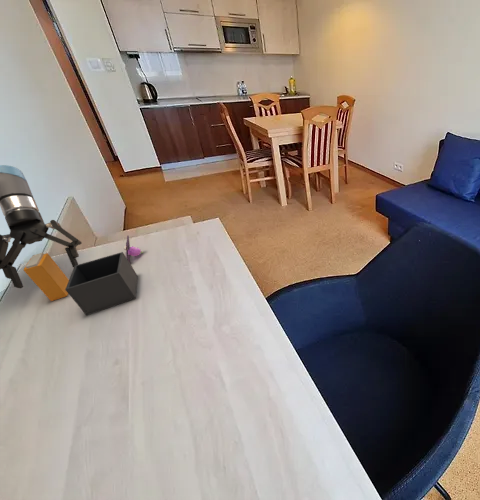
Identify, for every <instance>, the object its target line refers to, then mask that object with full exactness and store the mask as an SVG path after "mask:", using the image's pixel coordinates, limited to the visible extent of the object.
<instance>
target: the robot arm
mask: <svg viewBox="0 0 480 500" xmlns="http://www.w3.org/2000/svg"><path fill="white" fill-rule="evenodd" d="M0 210H1V212H2V215H3V217H4V218H5V221H6V224H7V226H8V229H9V233H8V234H3V235H2V234H0V270H2V271H3V274H4V277H5V278H6V279H8V280H11V282H12V285H13V288H17V289H23V288H24V285H23V282H22V280H21V278H20V277H21V276H20V275H19V273H18V270H17V268H16V267H15V266H13V265H14V264H15V262H16V260H17V259H18V257H19V256H20V253H21V252H22V250H23V249H24V248H25V247H26V246H27V245H32V244H34V243H36V242H42V241H43V240H44V239H47V240H48V241H51V242H54V243H57V244H59V245H62V246H64V247H65V248H64V250H65V252H66V255H67V257H68V260H69V262H70V264H71V266H72V268H73V269H74V266H76V265H79V263H78V260H77V258H79V257H80V256H79V255H80V254H79V252H78V250H77V246H79V245H80V246H81V245H82V243H83V242H82V241H81V240H80V239H78V238H77V237H75V236H74V235H72V234H71V233H70V232H68V231H67V230H65V228H62V226H61V224H60V223H59V222H58V221H57V220H55V219H51V220H50V221H49V222H48V223H45V221H44V219H43V216H42V214H41V212H40V210H39V207H38V205H37V202H36V200H35V198H34V195H33V193H32V190H31V188H30V185H29V183H28V181H27V179H26V177H25V175H24V173H23V171H22V170H21V169H20V168H18V167H17V166H16V167H15V166H14V165H13V166H12V165H7V164H6V165H5V164H0ZM49 229H52V230H56V231H58V233H60V234H61V235H63V236H65V237H66V238H67V239H69V240H70V241H67V240H65V239H62V238H59V237H57V236H54V235H52V234H50V233H48V231H49ZM12 239H13V241H12V242H11V240H12ZM9 243H11V246H10V247H9ZM8 249H9V250H8Z"/></svg>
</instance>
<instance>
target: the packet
mask: <svg viewBox="0 0 480 500" xmlns="http://www.w3.org/2000/svg"><path fill="white" fill-rule="evenodd" d="M23 272H24V273H25V274H26V275H27V276H28V277H29V278H30V280H31V281H33V283H34V284H35V285H36V286H37V288H39V290H40V291H41V292H42V294H44V295H45V296H46V297H47V299H48V300H49V301H50V302H52V301H57V300H60V299H62V298H65V297H68V295H69V294H68V292H67V291H66V290H65V289H66V287H67V284H68V281H69V279H70V278H69V277H67V276H66V274H65V273H64V271H63V270H62V269H61V267H60V266H59V265H58V264H57V263H56V262H55V260H54V259H53V257H51V254H49V253H44V252H40V253H36V254H33V255H32V256H31V257H30V258H29V260H28V261H27V263H26V264H25V266H24V268H23Z"/></svg>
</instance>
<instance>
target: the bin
mask: <svg viewBox="0 0 480 500" xmlns="http://www.w3.org/2000/svg"><path fill="white" fill-rule="evenodd" d="M68 279H69V281H68V284H67V287H66V289H65V290H66V291H67V292H68V295H69V297H70V298H71V299H72V300H73V301H74V302H75V303H76V305H77V306H78V307H79V308H80V310H81V311H82V312H83V313H84V314H85V316H89V315H91V314H94V313H97V312H100V311H103V310H107V309H109V308H112V307H115V306H118V305H121V304H123V303H124V304H125V303H127V302H129V301H133V300H135V299H137V289H138V274H137V272H136V270H135V269H134V268H133V266H132V265H131V263H130V261H128V260H127V258H126V255H125V252H123V251H121V252H117V253H114V254H111V255H106V256H104V257H100V258H96V259H94V260H89V261H86V262H83V263H80V264H79V263H78V265H76V266H74V268H73V269H72V272H71V274H70V276H69V278H68Z"/></svg>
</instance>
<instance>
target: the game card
mask: <svg viewBox="0 0 480 500" xmlns="http://www.w3.org/2000/svg"><path fill="white" fill-rule="evenodd" d="M123 251H126V252H124V255H125V256H126V258H127V260H128V261H129V262H130V259H131V256H132V257H138V256H139V255H140V254H143V253H144V251H141V249H140V248H139V247H136V246H133V245H132V246H131V245H130V236H129V235H127V236H126V242H125V245H124V246H123Z"/></svg>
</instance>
